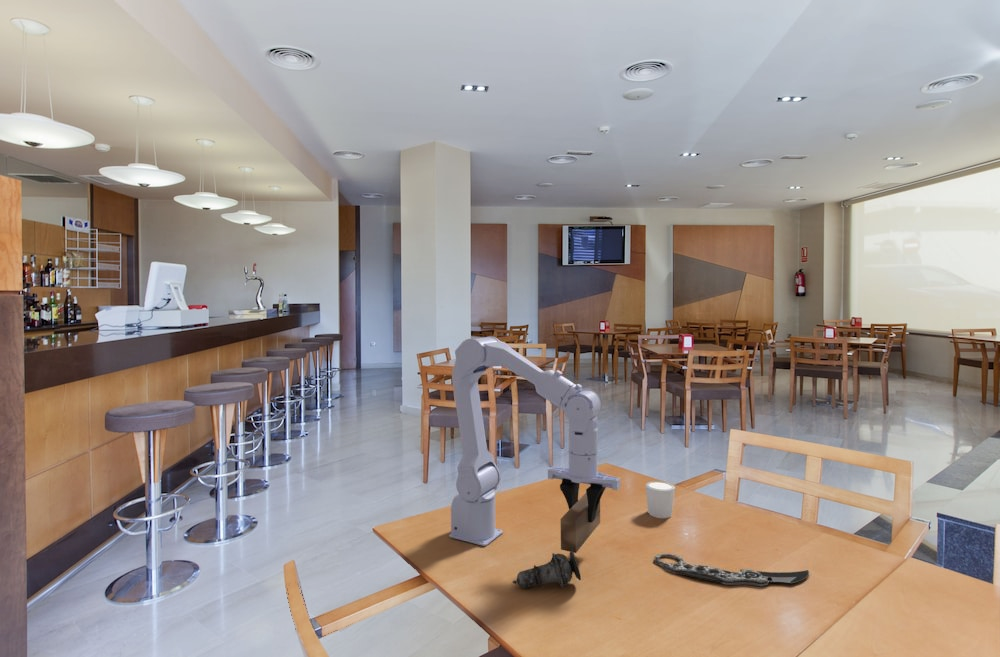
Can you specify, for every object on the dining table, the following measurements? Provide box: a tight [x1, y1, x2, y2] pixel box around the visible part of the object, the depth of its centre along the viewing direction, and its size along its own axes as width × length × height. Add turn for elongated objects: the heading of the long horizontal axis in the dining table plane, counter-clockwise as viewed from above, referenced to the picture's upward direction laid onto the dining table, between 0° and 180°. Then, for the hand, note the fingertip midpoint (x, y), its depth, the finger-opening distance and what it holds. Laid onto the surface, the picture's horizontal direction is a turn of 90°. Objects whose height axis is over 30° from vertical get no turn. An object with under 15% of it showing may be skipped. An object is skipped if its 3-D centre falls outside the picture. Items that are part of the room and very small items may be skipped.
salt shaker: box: [512, 550, 582, 589], centre depth 97 cm, size 6×6×12 cm
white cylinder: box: [645, 480, 676, 519], centre depth 130 cm, size 7×7×7 cm
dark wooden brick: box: [560, 492, 601, 554], centre depth 106 cm, size 3×14×6 cm, turn 151°
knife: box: [653, 553, 810, 587], centre depth 101 cm, size 28×2×10 cm
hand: (582, 518), depth 107 cm, fingers closed on dark wooden brick, 3 cm apart
